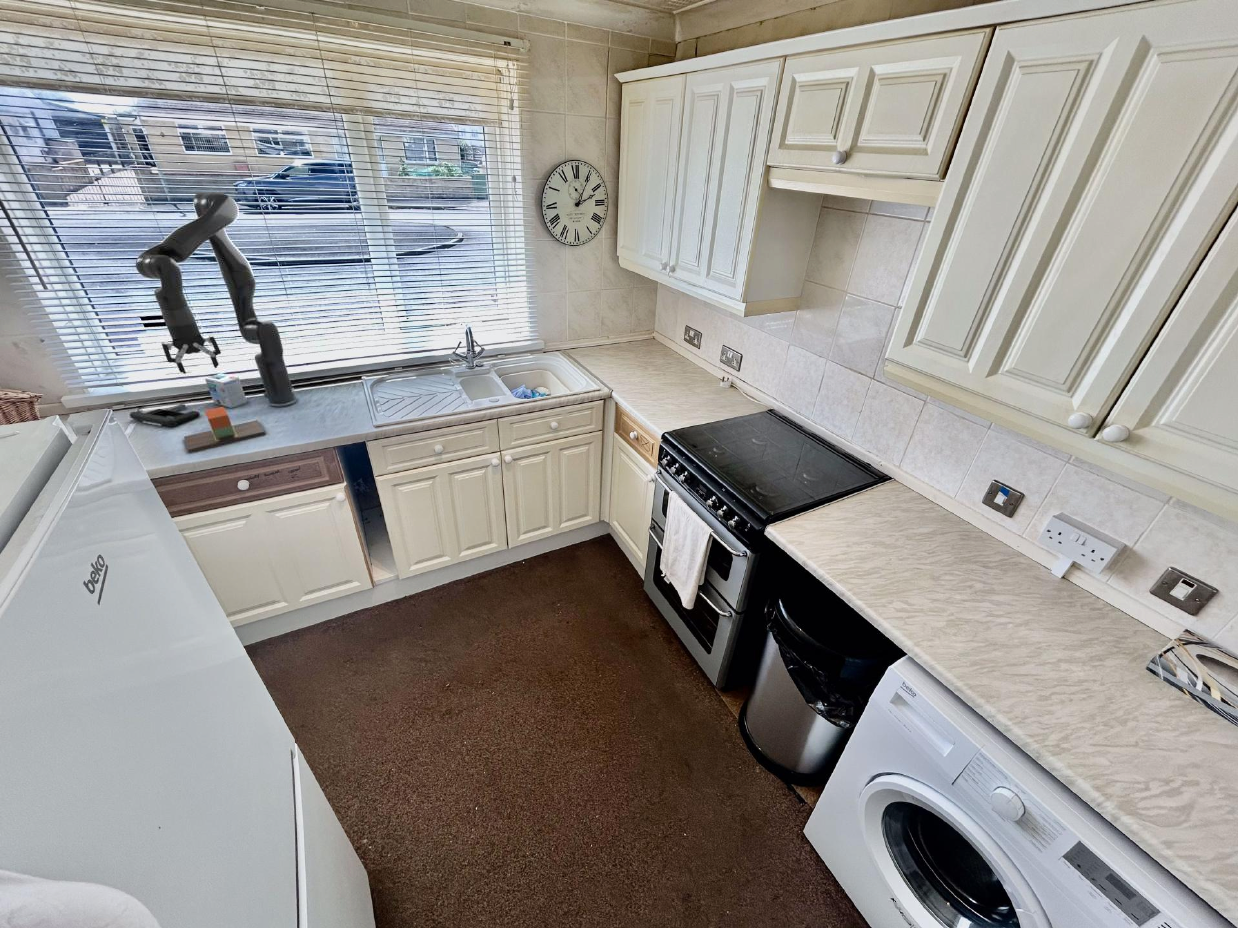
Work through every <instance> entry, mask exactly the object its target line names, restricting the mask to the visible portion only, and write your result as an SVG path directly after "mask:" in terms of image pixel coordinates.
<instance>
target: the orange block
mask: <svg viewBox="0 0 1238 928" xmlns="http://www.w3.org/2000/svg"><path fill="white" fill-rule="evenodd" d="M204 414H205V416H206V419H207V420H208V423H209V425H211V426H210V428H211V430H214V429H218V428H223V427H227V426H233V425H232V423H231V420H230V417H229V415H228V413H227V411H226V408H225V406H220V407H215V408H210V409H206V410H204Z"/></svg>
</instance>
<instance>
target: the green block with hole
mask: <svg viewBox="0 0 1238 928" xmlns="http://www.w3.org/2000/svg"><path fill="white" fill-rule="evenodd" d="M209 425H210V424H209ZM232 426H233V425H232ZM232 426H227V427H223V428H218V429H214V430H212V429H211V430H212V431H213V433H214V435H215V438H216V440H220V439H219V438H221V437H225V436H229V435H233V436H235V433H234V430H233V428H232ZM210 427H211V425H210Z"/></svg>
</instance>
